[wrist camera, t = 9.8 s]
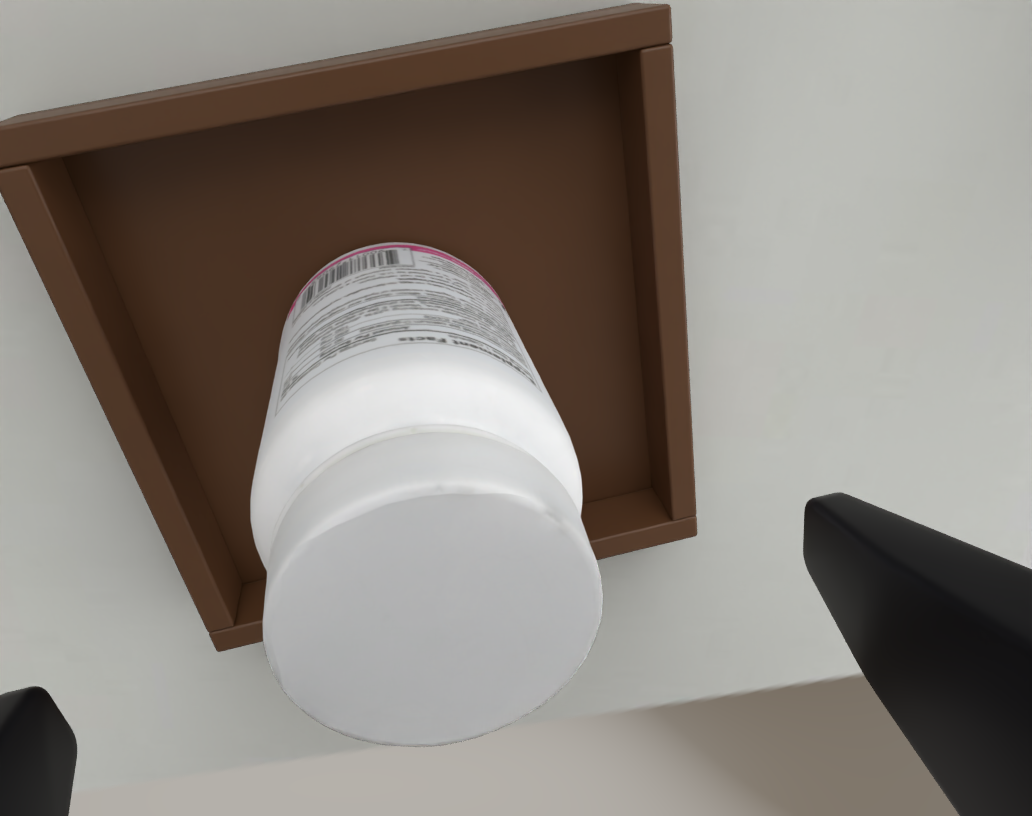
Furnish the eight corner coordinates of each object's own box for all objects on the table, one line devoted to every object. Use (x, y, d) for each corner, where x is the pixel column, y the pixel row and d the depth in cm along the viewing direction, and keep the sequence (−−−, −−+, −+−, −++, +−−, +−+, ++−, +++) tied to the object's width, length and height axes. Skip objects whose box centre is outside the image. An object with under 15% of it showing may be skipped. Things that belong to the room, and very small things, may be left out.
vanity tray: (669, 492, 20) (698, 536, 18) (229, 596, 19) (216, 654, 17) (636, 2, 15) (671, 3, 13) (16, 115, 14) (-31, 132, 12)
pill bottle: (476, 464, 18) (559, 785, 11) (263, 425, 17) (189, 762, 9) (542, 269, 16) (697, 497, 9) (308, 208, 15) (261, 415, 7)
